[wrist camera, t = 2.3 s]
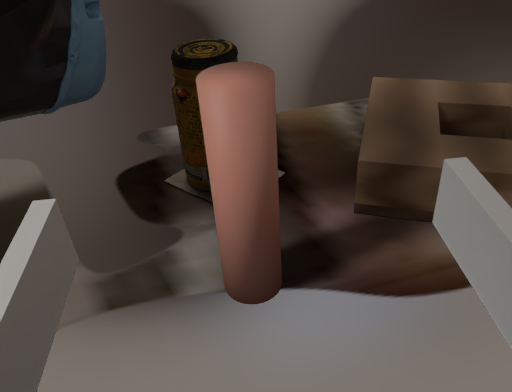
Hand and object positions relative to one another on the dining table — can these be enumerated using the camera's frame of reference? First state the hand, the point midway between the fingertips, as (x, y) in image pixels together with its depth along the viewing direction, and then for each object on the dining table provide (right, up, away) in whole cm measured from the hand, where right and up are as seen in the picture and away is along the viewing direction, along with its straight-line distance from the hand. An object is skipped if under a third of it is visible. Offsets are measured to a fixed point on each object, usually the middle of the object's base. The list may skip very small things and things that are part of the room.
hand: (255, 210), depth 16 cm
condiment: (-3, +2, +27) cm, 28 cm away
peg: (0, -5, +17) cm, 17 cm away
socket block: (+19, +3, +26) cm, 32 cm away
